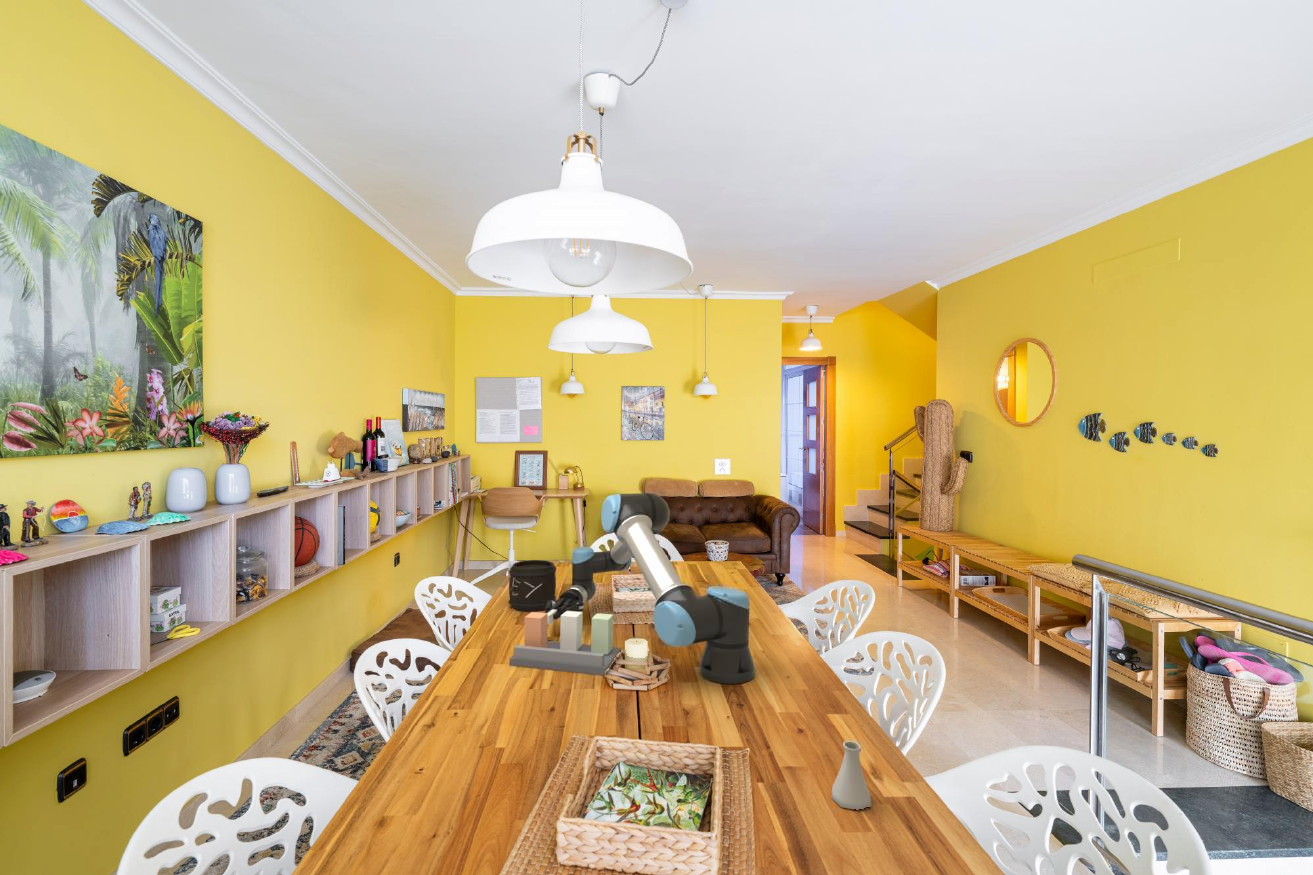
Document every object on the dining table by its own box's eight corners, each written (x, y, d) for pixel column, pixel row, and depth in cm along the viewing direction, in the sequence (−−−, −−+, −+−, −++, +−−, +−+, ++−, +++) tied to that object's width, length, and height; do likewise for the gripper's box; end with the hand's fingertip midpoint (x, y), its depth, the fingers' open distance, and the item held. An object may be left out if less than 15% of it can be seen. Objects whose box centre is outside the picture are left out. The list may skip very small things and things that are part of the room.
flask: (863, 787, 114) (864, 734, 114) (878, 811, 107) (879, 755, 107) (825, 787, 114) (826, 734, 114) (838, 811, 107) (839, 755, 107)
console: (621, 654, 180) (621, 637, 180) (604, 675, 165) (605, 657, 165) (533, 645, 186) (533, 629, 186) (509, 665, 171) (509, 647, 171)
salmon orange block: (547, 647, 179) (547, 613, 179) (540, 653, 174) (540, 618, 174) (531, 645, 180) (531, 611, 180) (524, 651, 175) (524, 616, 175)
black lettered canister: (498, 605, 229) (498, 563, 229) (540, 596, 241) (540, 557, 241) (522, 616, 216) (522, 572, 216) (565, 607, 228) (565, 565, 227)
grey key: (582, 645, 181) (582, 612, 181) (576, 651, 176) (576, 617, 176) (566, 644, 182) (566, 610, 182) (560, 649, 177) (560, 615, 177)
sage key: (612, 648, 179) (613, 614, 179) (607, 654, 174) (608, 619, 174) (596, 646, 180) (597, 613, 180) (591, 652, 175) (591, 618, 175)
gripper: (591, 611, 207) (566, 634, 184) (555, 608, 210) (526, 630, 187) (591, 589, 207) (567, 609, 184) (555, 586, 210) (526, 606, 187)
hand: (546, 620), depth 185 cm, fingers closed
